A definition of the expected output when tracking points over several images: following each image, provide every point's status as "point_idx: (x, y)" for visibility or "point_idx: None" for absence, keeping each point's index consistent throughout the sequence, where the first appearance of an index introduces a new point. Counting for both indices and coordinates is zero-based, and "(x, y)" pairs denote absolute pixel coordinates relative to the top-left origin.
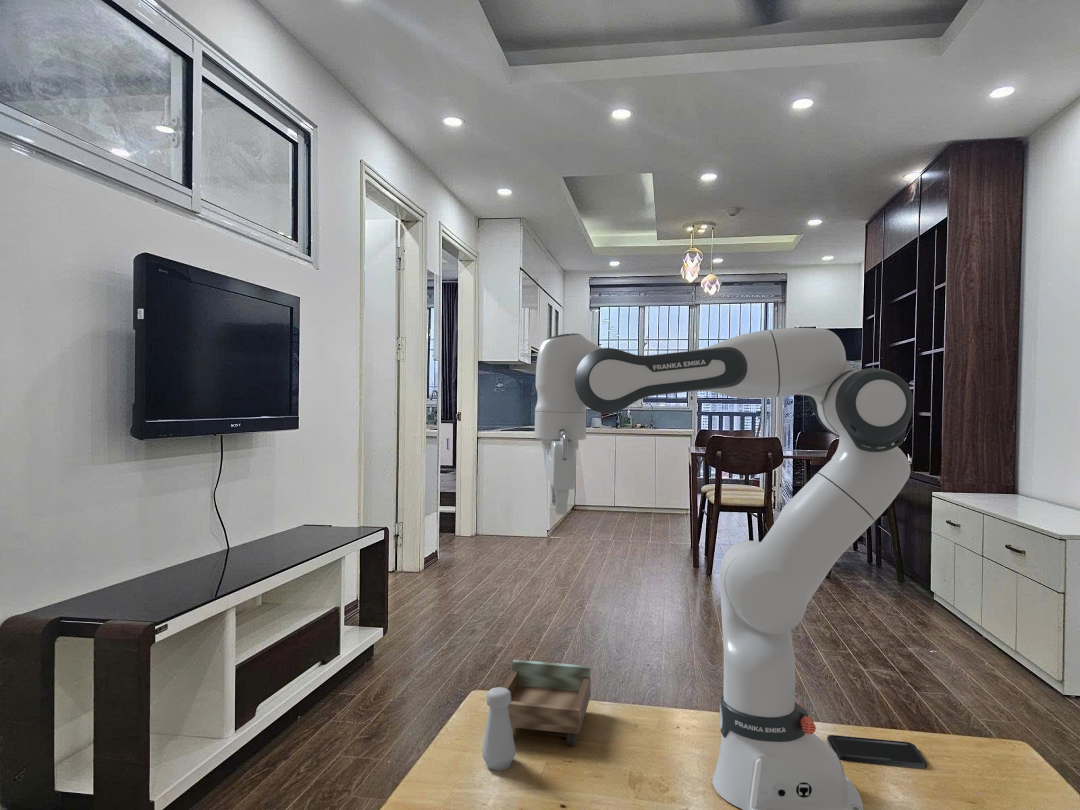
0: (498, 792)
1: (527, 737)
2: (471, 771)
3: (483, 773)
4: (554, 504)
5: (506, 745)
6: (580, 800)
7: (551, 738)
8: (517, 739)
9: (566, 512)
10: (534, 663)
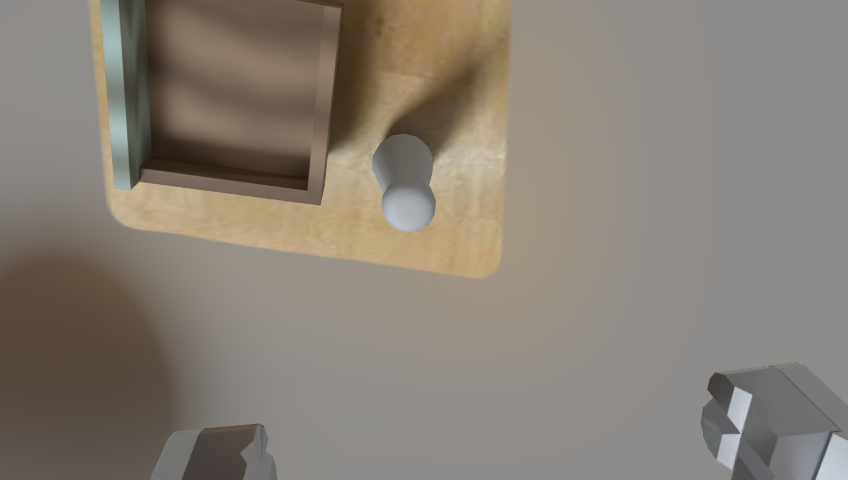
0: (481, 147)
1: None
2: None
3: None
4: (274, 473)
5: (426, 156)
6: (508, 3)
7: None
8: None
9: (806, 367)
10: (126, 134)
